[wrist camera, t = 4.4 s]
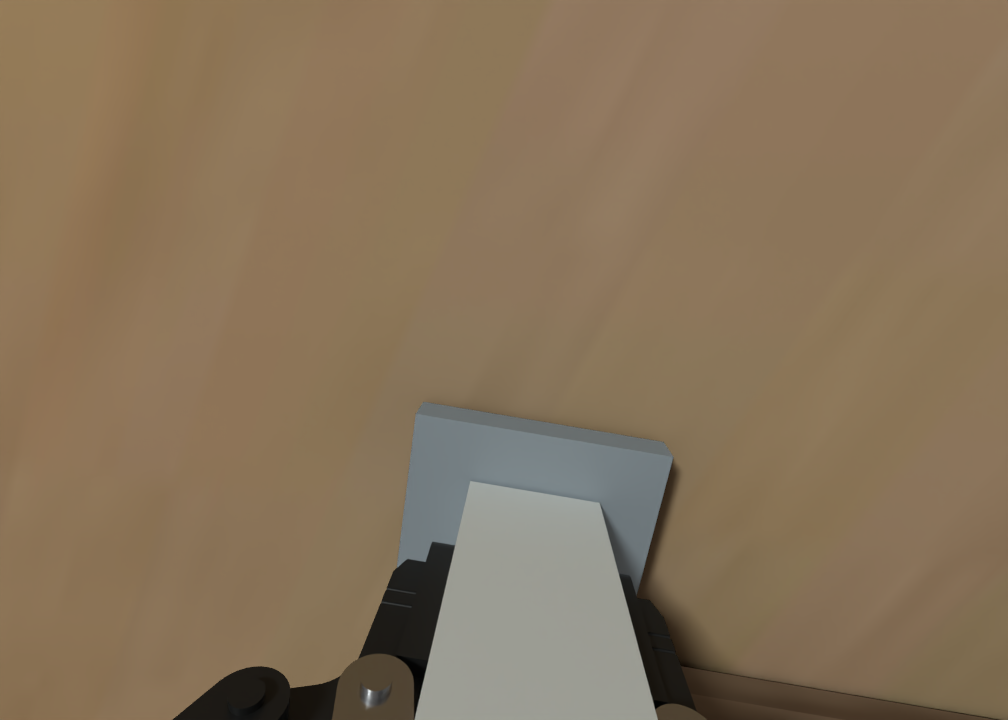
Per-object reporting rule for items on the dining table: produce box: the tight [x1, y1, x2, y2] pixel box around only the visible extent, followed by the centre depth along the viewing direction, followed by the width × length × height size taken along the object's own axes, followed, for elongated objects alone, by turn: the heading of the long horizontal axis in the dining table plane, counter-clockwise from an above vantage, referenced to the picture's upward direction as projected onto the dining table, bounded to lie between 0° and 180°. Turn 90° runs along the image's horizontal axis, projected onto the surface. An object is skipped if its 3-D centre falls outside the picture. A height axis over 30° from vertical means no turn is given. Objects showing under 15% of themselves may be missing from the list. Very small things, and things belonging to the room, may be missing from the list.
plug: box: [415, 481, 658, 720], centre depth 9 cm, size 4×4×10 cm
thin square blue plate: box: [397, 402, 673, 596], centre depth 15 cm, size 7×7×1 cm
